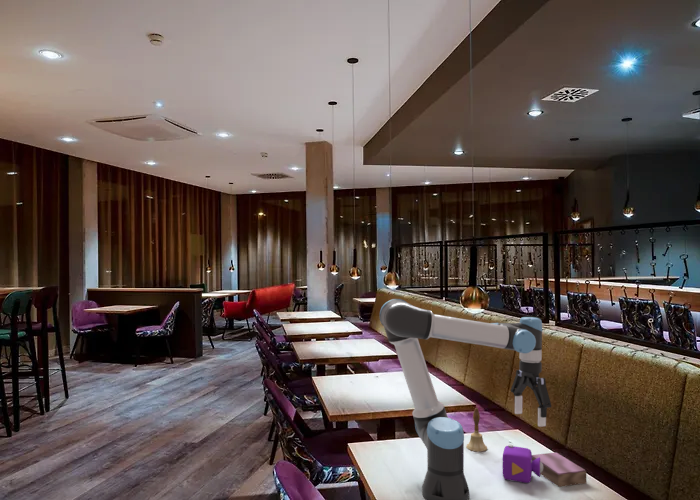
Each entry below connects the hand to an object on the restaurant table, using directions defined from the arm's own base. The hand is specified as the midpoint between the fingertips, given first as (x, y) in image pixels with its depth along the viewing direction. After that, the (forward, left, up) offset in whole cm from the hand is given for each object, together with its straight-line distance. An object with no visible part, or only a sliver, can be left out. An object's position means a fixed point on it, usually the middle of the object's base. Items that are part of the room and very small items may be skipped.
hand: (529, 419), depth 176 cm
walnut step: (+9, -4, -19) cm, 21 cm away
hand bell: (-7, +25, -19) cm, 33 cm away
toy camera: (-5, -3, -19) cm, 20 cm away
